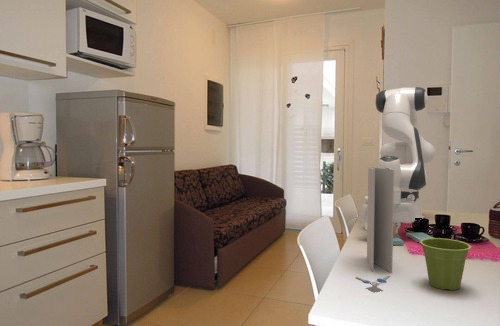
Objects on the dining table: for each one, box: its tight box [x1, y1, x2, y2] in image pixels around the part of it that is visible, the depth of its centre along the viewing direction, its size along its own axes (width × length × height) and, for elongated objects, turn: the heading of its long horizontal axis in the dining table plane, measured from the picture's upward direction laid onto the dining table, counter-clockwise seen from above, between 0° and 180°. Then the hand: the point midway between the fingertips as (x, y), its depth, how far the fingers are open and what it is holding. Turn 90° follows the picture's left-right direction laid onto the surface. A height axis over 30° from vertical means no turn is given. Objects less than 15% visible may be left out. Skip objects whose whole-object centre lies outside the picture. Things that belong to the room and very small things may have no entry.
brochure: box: [366, 166, 394, 274], centre depth 113 cm, size 14×6×30 cm, turn 168°
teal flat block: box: [405, 232, 434, 244], centre depth 143 cm, size 14×7×2 cm, turn 1°
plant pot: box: [420, 237, 472, 291], centre depth 96 cm, size 12×12×11 cm
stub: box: [393, 225, 405, 246], centre depth 142 cm, size 14×6×6 cm, turn 1°
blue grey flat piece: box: [355, 275, 391, 294], centre depth 99 cm, size 14×8×1 cm, turn 151°
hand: (387, 233), depth 142 cm, fingers closed on stub, 4 cm apart
